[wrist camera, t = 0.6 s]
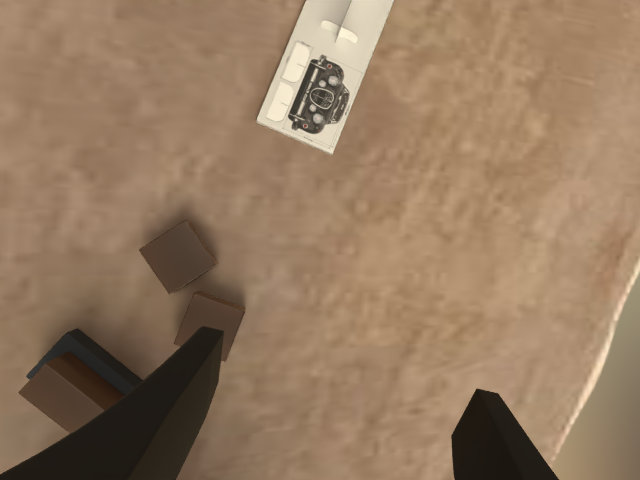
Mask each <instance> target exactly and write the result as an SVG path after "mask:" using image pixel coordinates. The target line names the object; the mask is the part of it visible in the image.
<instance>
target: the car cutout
mask: <svg viewBox="0 0 640 480" xmlns="http://www.w3.org/2000/svg"><path fill="white" fill-rule="evenodd" d="M393 2H394V0H306V2H305V4H304V6H303V9H302V11H301V14H300V16H299V18H298V21H297V23H296V26H295V28H294V30H293V33H292V35H291V38H290V40H289V42H288V45H287V47H286V50H285V52H284V54H283V57H282V59H281V62H280V64H279V66H278V69H277V71H276V74H275V76H274V78H273V81H272V83H271V86H270V88H269V90H268V93H267V95H266V98H265V100H264V102H263V105H262V107H261V110H260V112H259V114H258V117H257V119H256V123H258V124H260V125H263V126H265V127H267V128H270V129H272V130H274V131H277V132H279V133H281V134H284V135H286V136H288V137H290V138H293V139H295V140H297V141H300V142H302V143H304V144H307V145H309V146H311V147H314V148H316V149H318V150H320V151H323V152H325V153H327V154H330V155H332V154H333V152H334V150H335V147H336V145H337V142H338V140H339V137H340V135H341V132H342V130H343V127H344V125H345V122H346V120H347V117H348V115H349V112H350V110H351V107H352V105H353V102H354V100H355V97H356V95H357V92H358V90H359V87H360V85H361V82H362V80H363V77H364V75H365V72H366V70H367V67H368V65H369V62H370V60H371V57H372V55H373V52H374V50H375V47H376V45H377V42H378V40H379V37H380V35H381V32H382V30H383V27H384V25H385V22H386V20H387V17H388V15H389V12H390V10H391V7H392V5H393Z"/></svg>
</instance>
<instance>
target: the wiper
mask: <svg viewBox="0 0 640 480" xmlns="http://www.w3.org/2000/svg"><path fill="white" fill-rule="evenodd" d="M26 377H27V378H28V379H30V381H29V382H28V383H27V384H26V385H25V386H24V387H23V388H22V389H21V390H20V391H19V394H20V395H22V396H23V397H24V398H25V399H27V400H28V401H29V402H30V403H32V404H33V405H34V406H36V407H37V408H38V409H39V410H41V411H42V412H43V413H45V414H46V415H47V416H48V417H50V418H51V419H52V420H53V421H55V422H56V423H57V424H59V425H60V426H61V427H62V428H64V429H65V430H66V431H68V432H69V433H70V434H71V433H72V432H74V431H76V430H77V429H79V428H80V427H82V426H83V425H85V424H86V423H88V422H89V421H91V420H92V419H94V418H95V417H96V416H98V415H99V414H101V413H102V412H104V411H105V410H106V409H108V408H109V407H110V406H112V405H113V404H114V403H116V402H117V401H118V400H120V399H121V398H122V397H124V396H125V395H126V394H127V393H129V392H130V391H131V390H132V389H134V388H135V387H136V386H137V385H139V384H140V383H141V382H142V380H141V379H140V378H139V377H137V376H136V375H135V374H134V373H132V372H131V371H130V370H129V369H127V368H126V367H125V366H124V365H123V364H121V363H120V362H119V361H118V360H116V359H115V358H114V357H113V356H111V355H110V354H109V353H108V352H106V351H105V350H104V349H103V348H102V347H100V346H99V345H98V344H97V343H95V342H94V341H93V340H92V339H90V338H89V337H88V336H87V335H85V334H84V333H83V332H82V331H81V330H79V329H78V328H77V329H74V330H72V331H70V332H67V333H66V334H65V335H64V336H63V337H62V338H61V339H60V340H59V341H58V342H57V343H56V344H55V345H54V346H53V348H52V349H51V350H50V351H49V352H48V353H47V354H46V355H45V356H44V357H43V358H42V359H41V361H40V362H39V363H38V364H37V365H36V366H35V367H34V368H33V369H32V370H31V371H30V372H29V374H28V375H27V376H26Z"/></svg>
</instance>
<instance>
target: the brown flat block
mask: <svg viewBox="0 0 640 480" xmlns="http://www.w3.org/2000/svg"><path fill="white" fill-rule="evenodd" d="M139 251H140V252H141V254H142V255H143V257H144V258H145V260H146V261H147V262H148V264H149V265H150V267H151V268H152V270H153V271H154V273H155V274H156V275H157V277H158V278H159V280H160V281H161V283H162V284H163V286H164V287H165V288H166V290H167V291H168V293H169V294H172V293H174V292H176V291H178V290H179V289H181V288H182V287H184V286H185V285H187V284H188V283H190V282H191V281H193V280H194V279H196V278H197V277H199V276H200V275H202V274H203V273H205V272H207V271H208V270H210V269H211V268H213V267H214V266H216V265H217V264H218V262H217V261H216V260H215V258H214V257H213V255H212V254H211V252H210V251H209V249H208V248H207V246H206V245H205V243H204V242H203V240H202V239H201V237H200V236H199V235H198V233H197V232H196V230H195V229H194V227H193V226H192V224H191V223H190V222H189V221H187V220H185V221H183V222H182V223H180V224H179V225H177V226H175V227H174V228H172V229H171V230H169V231H168V232H166V233H164V234H163V235H161V236H160V237H158V238H157V239H155V240H153V241H152V242H150V243H149V244H147V245H146V246H144V247H142V248H141V249H139Z"/></svg>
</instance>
